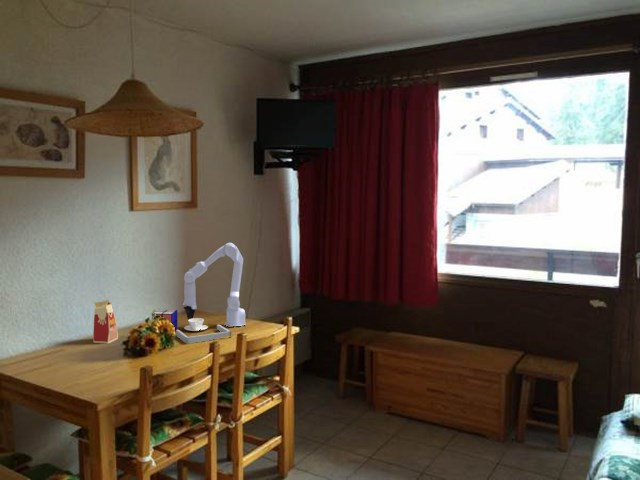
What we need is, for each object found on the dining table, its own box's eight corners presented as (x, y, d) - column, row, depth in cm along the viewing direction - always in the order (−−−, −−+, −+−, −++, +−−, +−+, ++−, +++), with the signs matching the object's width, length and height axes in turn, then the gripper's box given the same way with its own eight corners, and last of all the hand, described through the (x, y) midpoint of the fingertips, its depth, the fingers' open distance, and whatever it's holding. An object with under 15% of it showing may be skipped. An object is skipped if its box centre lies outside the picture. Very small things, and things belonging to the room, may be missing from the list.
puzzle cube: (172, 333, 270) (171, 313, 269) (152, 333, 270) (151, 313, 269) (177, 328, 280) (177, 309, 279) (158, 328, 280) (158, 309, 279)
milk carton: (118, 338, 260) (117, 297, 258) (109, 343, 251) (107, 301, 249) (100, 337, 261) (99, 296, 259) (90, 342, 252) (89, 300, 250)
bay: (219, 330, 277) (219, 324, 277) (231, 337, 264) (231, 331, 263) (176, 335, 266) (176, 329, 265) (186, 344, 252) (186, 337, 252)
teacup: (185, 334, 270) (185, 323, 269) (182, 328, 281) (182, 318, 280) (209, 331, 274) (209, 321, 274) (205, 326, 285) (205, 316, 285)
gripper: (178, 292, 284) (178, 318, 286) (186, 297, 272) (187, 324, 273) (191, 291, 288) (191, 316, 289) (200, 296, 276) (200, 322, 277)
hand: (190, 320), depth 281 cm, fingers closed
